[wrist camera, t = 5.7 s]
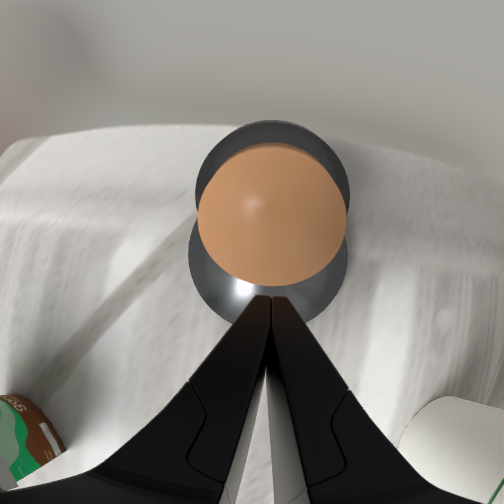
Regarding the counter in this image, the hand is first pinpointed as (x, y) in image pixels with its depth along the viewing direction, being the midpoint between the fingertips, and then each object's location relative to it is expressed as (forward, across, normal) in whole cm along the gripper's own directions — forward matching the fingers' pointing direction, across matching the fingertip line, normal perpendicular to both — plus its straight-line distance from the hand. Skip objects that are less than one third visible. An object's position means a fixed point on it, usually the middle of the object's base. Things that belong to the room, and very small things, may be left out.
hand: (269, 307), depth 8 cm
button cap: (+8, 0, +2) cm, 8 cm away
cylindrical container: (+1, -14, +14) cm, 20 cm away
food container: (-1, +20, +16) cm, 26 cm away
